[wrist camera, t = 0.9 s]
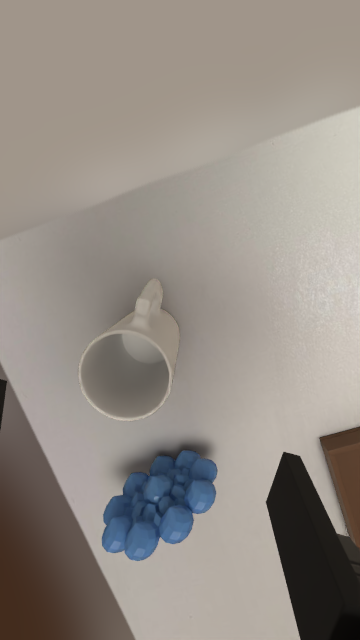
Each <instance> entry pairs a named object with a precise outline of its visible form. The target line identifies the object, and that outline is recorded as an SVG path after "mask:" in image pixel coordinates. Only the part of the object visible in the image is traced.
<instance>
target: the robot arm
mask: <svg viewBox="0 0 360 640" xmlns="http://www.w3.org/2000/svg"><path fill="white" fill-rule="evenodd" d="M6 383H7V381H5V380H1V379H0V429H1V421H2V414H3V406H4V399H5V391H6ZM266 504H267V508H268V512H269V516H270V520H271V524H272V528H273V532H274V536H275V540H276V544H277V548H278V552H279V556H280V560H281V564H282V568H283V572H284V575H285V579H286V583H287V587H288V591H289V595H290V599H291V603H292V607H293V611H294V615H295V619H296V623H297V627H298V631H299V635H300V639H301V640H360V549H359V548H358V547H357V546H356V545H355V543H354V542H353V541H352V540H351V539H350V538H349V537H347V536H344V535H340V534H337V533H336V531H335V529H334V527H333V525H332V523H331V521H330V518H329V516H328V514H327V512H326V510H325V508H324V506H323V504H322V502H321V499H320V497H319V495H318V493H317V491H316V489H315V487H314V485H313V483H312V480H311V478H310V476H309V474H308V472H307V470H306V468H305V466H304V464H303V461H302V459H301V457H300V456H298V455H294V454H290V453H286V452H283V455H282V458H281V461H280V463H279V466H278V469H277V472H276V475H275V478H274V481H273V483H272V486H271V489H270V492H269V495H268V498H267V501H266Z"/></svg>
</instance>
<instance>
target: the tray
mask: <svg viewBox="0 0 360 640" xmlns="http://www.w3.org/2000/svg"><path fill="white" fill-rule="evenodd" d="M320 441H321V444H322V448H323V451H324V454H325V457H326V461H327V464H328V467H329V471H330V474H331V477H332V480H333V484H334V487H335V490H336V493H337V497H338V500H339V503H340V506H341V510H342V513H343V516H344V519H345V523H346V526H347V529H348V532H349V536H350V539H351V540H352V541H353V542H354V543H355V545H356V546H357V547H358V548H359V549H360V427H358V428H354V429H351V430H347V431H343V432H340V433H336V434H332V435H329V436H325V437H321V438H320Z"/></svg>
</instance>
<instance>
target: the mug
mask: <svg viewBox="0 0 360 640" xmlns="http://www.w3.org/2000/svg"><path fill="white" fill-rule="evenodd" d="M162 298H163V290H162V286H161V283H160V281H159V280H157V279H151V280H150V281H149V282H148V283H147V284H146V286H145V287H144V289H143V291H142V293H141V295H140V296H139V298H137V300H136V305H135V311H133V312H131V313H130V314H128V315H127V316H126V317H124V318H123V319H122V320H120V321H119V322H117V323H116V324H115V325H113V326H112V327H110V328H109V329H108V330H106V331H105V332H103V333H102V334H101V335H100V336H98V337H97V338H96V339H94V340H93V341H92V342H91V343H90V344H89V345H88V346H87V348H86V349H85V351H84V352H83V354H82V356H81V359H80V362H79V368H78V378H79V384H80V387H81V390H82V392H83V394H84V396H85V398H86V399H87V400H88V402H89V403H90V404H91V405H92V406H93V407H94V408H95V409H96V410H97V411H99V412H100V413H102V414H103V415H105V416H107V417H110V418H112V419H115V420H121V421H134V420H139V419H142V418H145V417H147V416H149V415H151V414H153V413H154V412H156V411H157V410H158V409H159V408H160V407H161V406H162V405H163V404H164V402H165V401H166V399H167V397H168V395H169V393H170V390H171V385H172V381H173V377H174V371H175V365H176V359H177V354H178V349H179V341H180V332H179V327H178V325H177V323H176V321H175V319H174V318H173V317H172V316H171V315H170V314H169V313H168V312H166V311H165V310H163V309H160V307H161V302H162Z"/></svg>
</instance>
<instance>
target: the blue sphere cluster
mask: <svg viewBox="0 0 360 640" xmlns="http://www.w3.org/2000/svg"><path fill="white" fill-rule="evenodd" d="M216 475H217V467H216V464H215V463H214V462H213V461H212V460H209V459H205V458H204V459H201V457H200V455H199V454H198V453H197V452H195V451H191V450H185V451H182V452H181V453H180V454H179V456H178V457H177V459H176V461H175V460H174V459H173V458H172V457H169V456H158V457H157V458H156V459H155V460H154V462H153V464H152V465H151V468H150V476H148V475H147V474H146V473H142V472H136V473H131V474H130V476H129V477H128V479H127V480H126V482H125V484H124V487H123V495H119V496H114V497H112V499H111V500H110V501H109V503H108V504H107V506H106V508H105V511H104V514H103V518H104V523H105V524H106V525H107V526H106V528H105V530H104V533H103V536H102V546H103V547H104V549H105V550H106V551H107V552H111V553H117V552H122V551H124V550H125V554H126V555H127V556H128V558H129V559H131V560H136V561H140V560H144V559H146V558H148V557H149V556H150V555H151V554H152V553H153V552H154V550H155V549H156V547H157V545H158V541H159V538H160V537H161V538H162V539H163V540H164V541H165V542H166V543H171V544H176V543H180V542H181V541H183V540H184V539H185V538H186V537H187V536H188V535H189V533H190V531H191V529H192V525H193V521H194V520H193V515H192V513H195V514H200V513H205V512H206V511H208V510H209V509H210V508H211V506H212V504H213V503H214V501H215V496H216V490H215V487H214V485H213V484H212V483H213V482H214V480H215V478H216Z"/></svg>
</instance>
